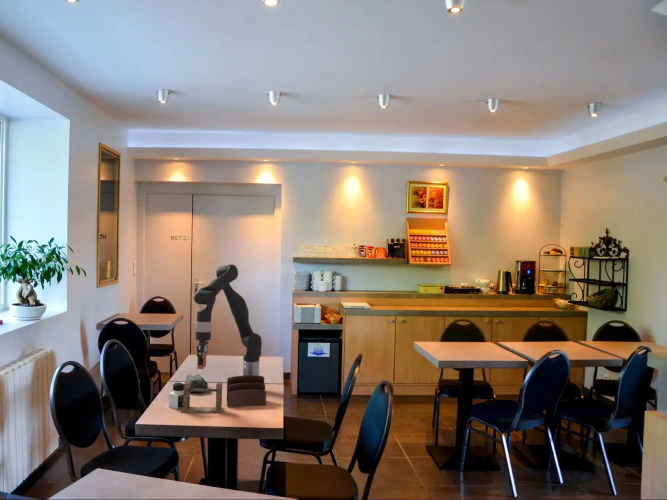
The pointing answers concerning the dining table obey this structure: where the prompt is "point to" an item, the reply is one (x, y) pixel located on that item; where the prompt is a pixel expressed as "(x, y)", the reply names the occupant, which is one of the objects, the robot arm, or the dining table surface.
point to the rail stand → (189, 409)
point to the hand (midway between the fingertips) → (201, 363)
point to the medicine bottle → (176, 396)
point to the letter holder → (246, 391)
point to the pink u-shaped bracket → (203, 362)
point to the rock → (197, 382)
